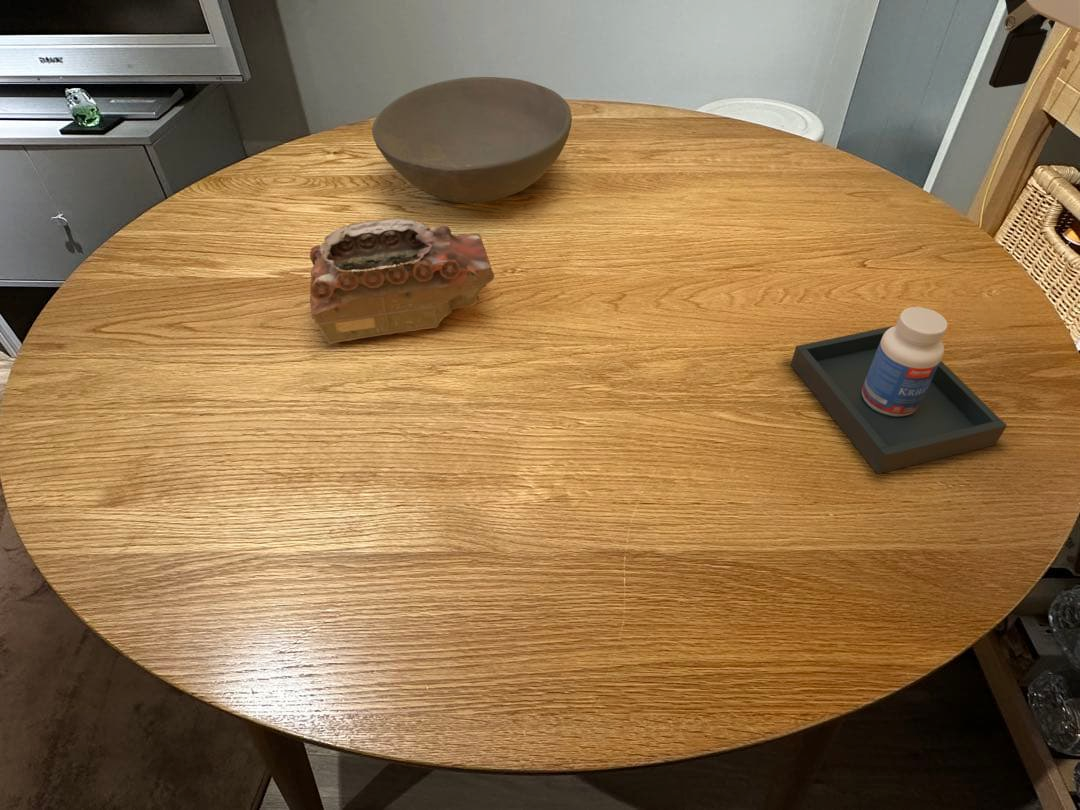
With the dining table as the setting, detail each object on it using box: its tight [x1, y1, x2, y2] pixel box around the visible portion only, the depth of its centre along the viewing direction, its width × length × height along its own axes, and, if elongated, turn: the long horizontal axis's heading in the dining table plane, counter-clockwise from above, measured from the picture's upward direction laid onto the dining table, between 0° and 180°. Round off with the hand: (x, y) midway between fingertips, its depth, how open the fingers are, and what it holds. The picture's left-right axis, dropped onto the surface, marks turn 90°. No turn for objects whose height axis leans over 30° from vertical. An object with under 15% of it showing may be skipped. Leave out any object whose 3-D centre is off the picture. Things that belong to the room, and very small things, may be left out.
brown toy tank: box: [309, 217, 495, 345], centre depth 84 cm, size 13×20×10 cm, turn 96°
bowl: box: [371, 76, 573, 205], centre depth 105 cm, size 26×26×10 cm
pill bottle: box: [862, 306, 948, 417], centre depth 72 cm, size 6×5×10 cm
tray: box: [790, 324, 1008, 475], centre depth 75 cm, size 16×13×3 cm
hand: (1051, 109), depth 58 cm, fingers open, 9 cm apart
